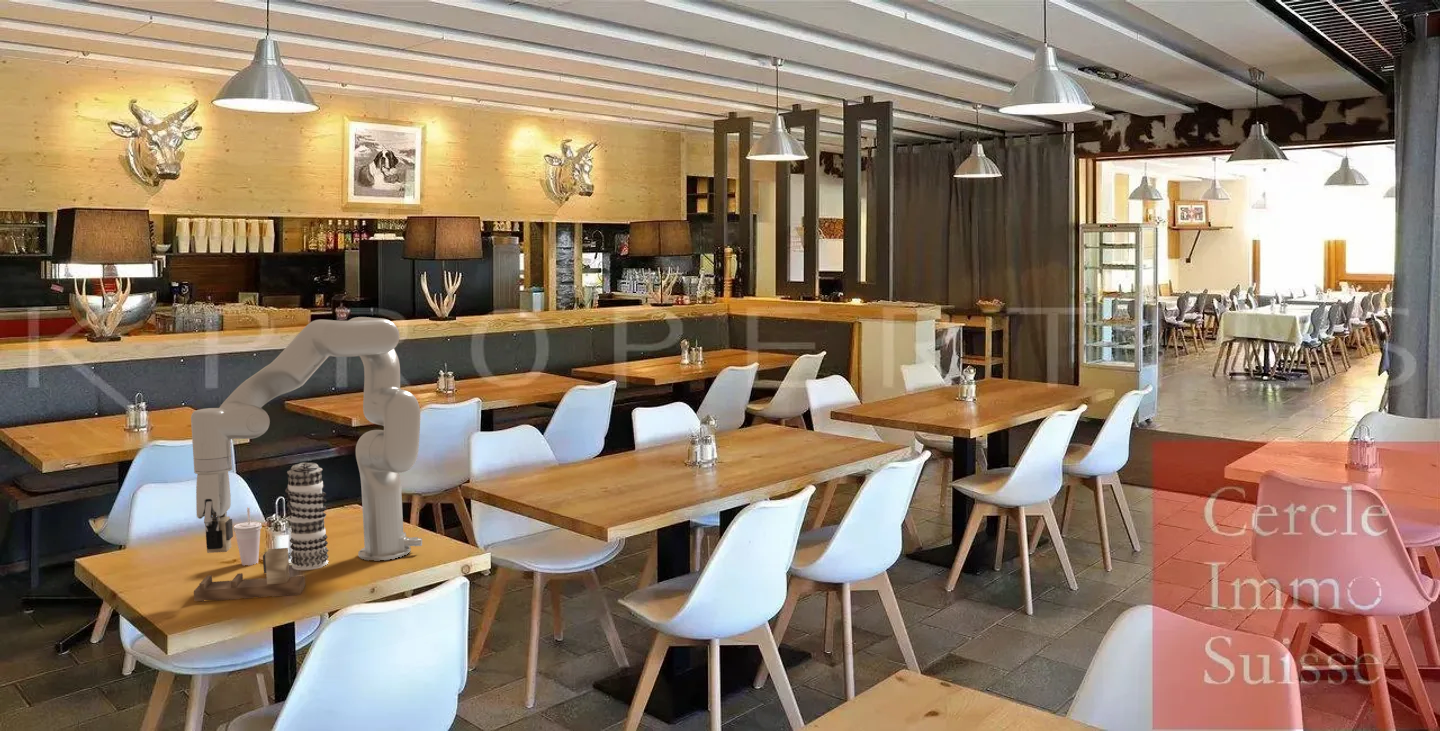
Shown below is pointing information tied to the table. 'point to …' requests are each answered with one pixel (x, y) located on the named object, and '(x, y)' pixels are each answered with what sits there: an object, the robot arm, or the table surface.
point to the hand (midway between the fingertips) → (217, 544)
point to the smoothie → (248, 540)
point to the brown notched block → (255, 581)
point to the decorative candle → (307, 516)
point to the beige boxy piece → (224, 534)
